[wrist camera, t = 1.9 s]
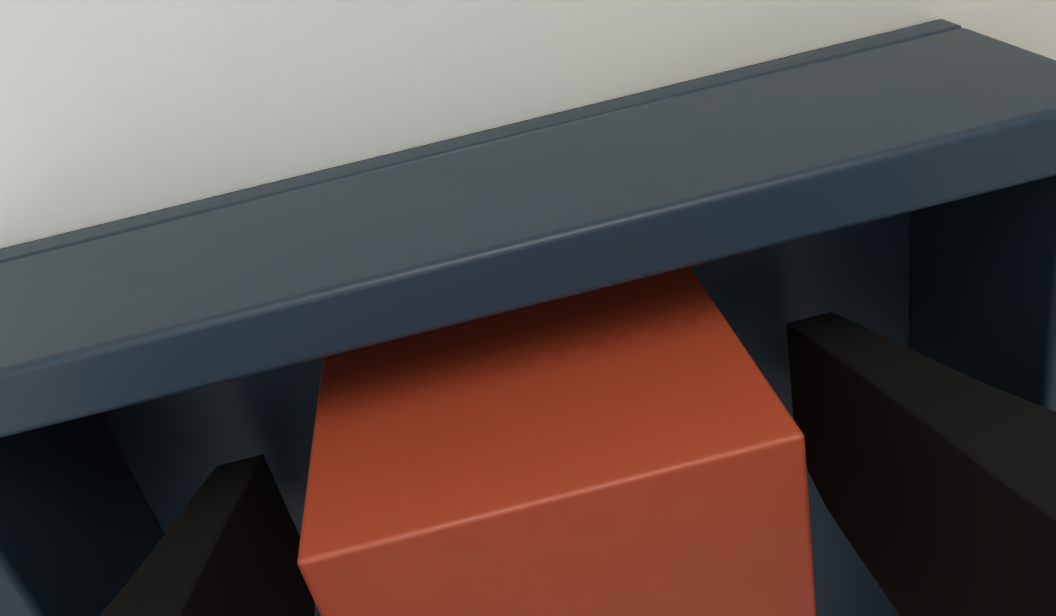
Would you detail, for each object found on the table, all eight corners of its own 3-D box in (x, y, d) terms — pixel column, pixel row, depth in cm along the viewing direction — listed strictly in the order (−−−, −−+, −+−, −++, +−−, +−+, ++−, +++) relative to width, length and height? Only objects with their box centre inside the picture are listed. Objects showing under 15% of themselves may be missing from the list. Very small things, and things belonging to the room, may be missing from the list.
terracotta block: (704, 490, 14) (827, 755, 10) (418, 562, 14) (429, 859, 10) (666, 228, 12) (807, 434, 8) (326, 312, 12) (293, 564, 8)
